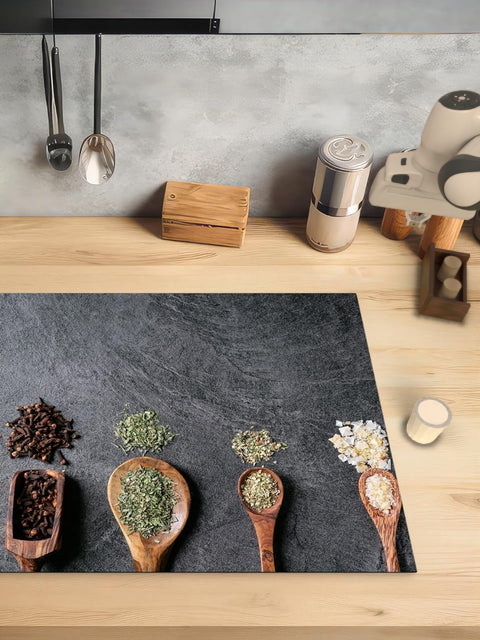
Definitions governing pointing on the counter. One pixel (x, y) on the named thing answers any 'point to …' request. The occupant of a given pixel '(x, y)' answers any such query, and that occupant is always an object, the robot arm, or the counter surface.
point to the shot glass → (428, 420)
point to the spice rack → (444, 284)
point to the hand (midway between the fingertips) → (412, 224)
